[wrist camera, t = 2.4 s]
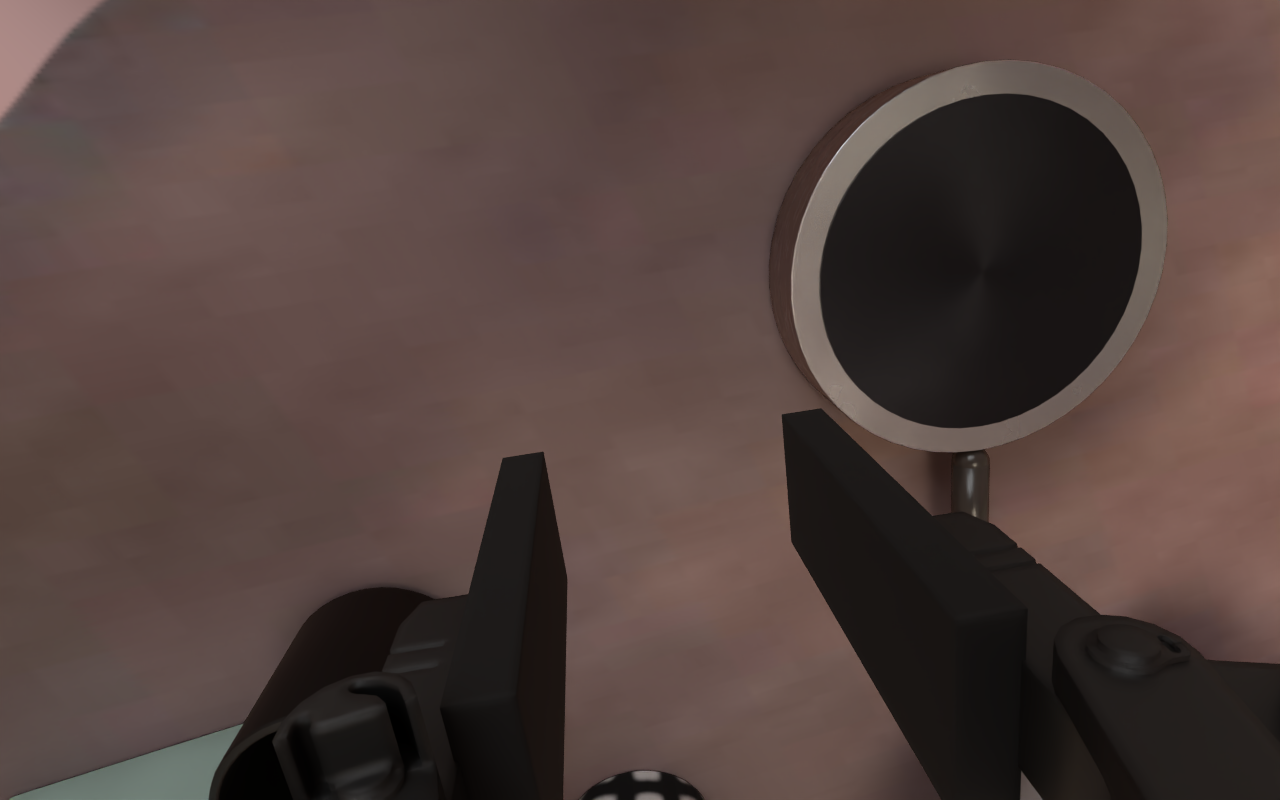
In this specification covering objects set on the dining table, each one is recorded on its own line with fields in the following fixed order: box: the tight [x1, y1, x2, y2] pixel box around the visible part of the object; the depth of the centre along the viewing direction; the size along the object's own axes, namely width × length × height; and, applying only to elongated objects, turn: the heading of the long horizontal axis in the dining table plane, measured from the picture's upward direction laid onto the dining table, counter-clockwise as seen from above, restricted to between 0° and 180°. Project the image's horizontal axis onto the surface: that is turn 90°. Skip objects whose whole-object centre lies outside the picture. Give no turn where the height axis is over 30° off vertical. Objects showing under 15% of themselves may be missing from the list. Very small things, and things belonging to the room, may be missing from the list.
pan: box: [769, 59, 1168, 522], centre depth 33 cm, size 24×16×4 cm, turn 8°
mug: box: [209, 587, 435, 800], centre depth 33 cm, size 9×12×9 cm
